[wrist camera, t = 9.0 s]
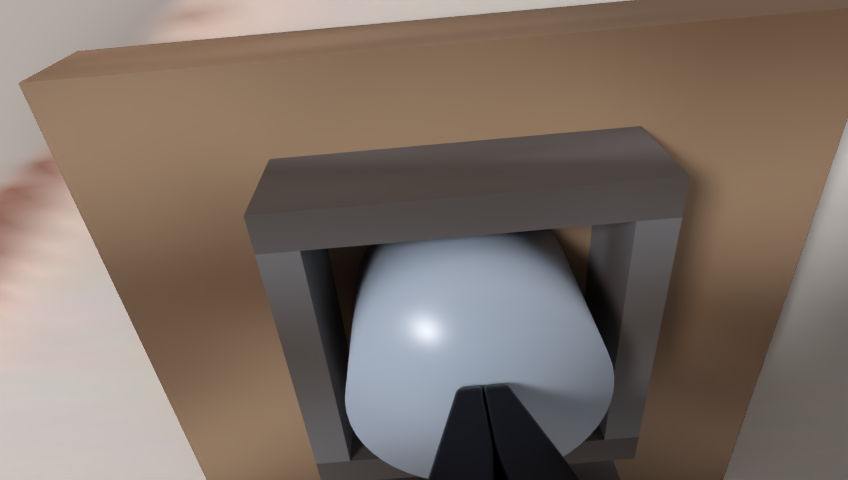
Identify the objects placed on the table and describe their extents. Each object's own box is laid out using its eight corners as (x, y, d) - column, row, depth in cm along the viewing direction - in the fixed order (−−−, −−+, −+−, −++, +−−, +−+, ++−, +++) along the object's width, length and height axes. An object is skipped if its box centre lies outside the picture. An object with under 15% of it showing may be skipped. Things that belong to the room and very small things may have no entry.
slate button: (561, 356, 13) (601, 472, 10) (371, 372, 13) (364, 492, 10) (574, 186, 11) (630, 283, 8) (340, 207, 11) (323, 309, 8)
